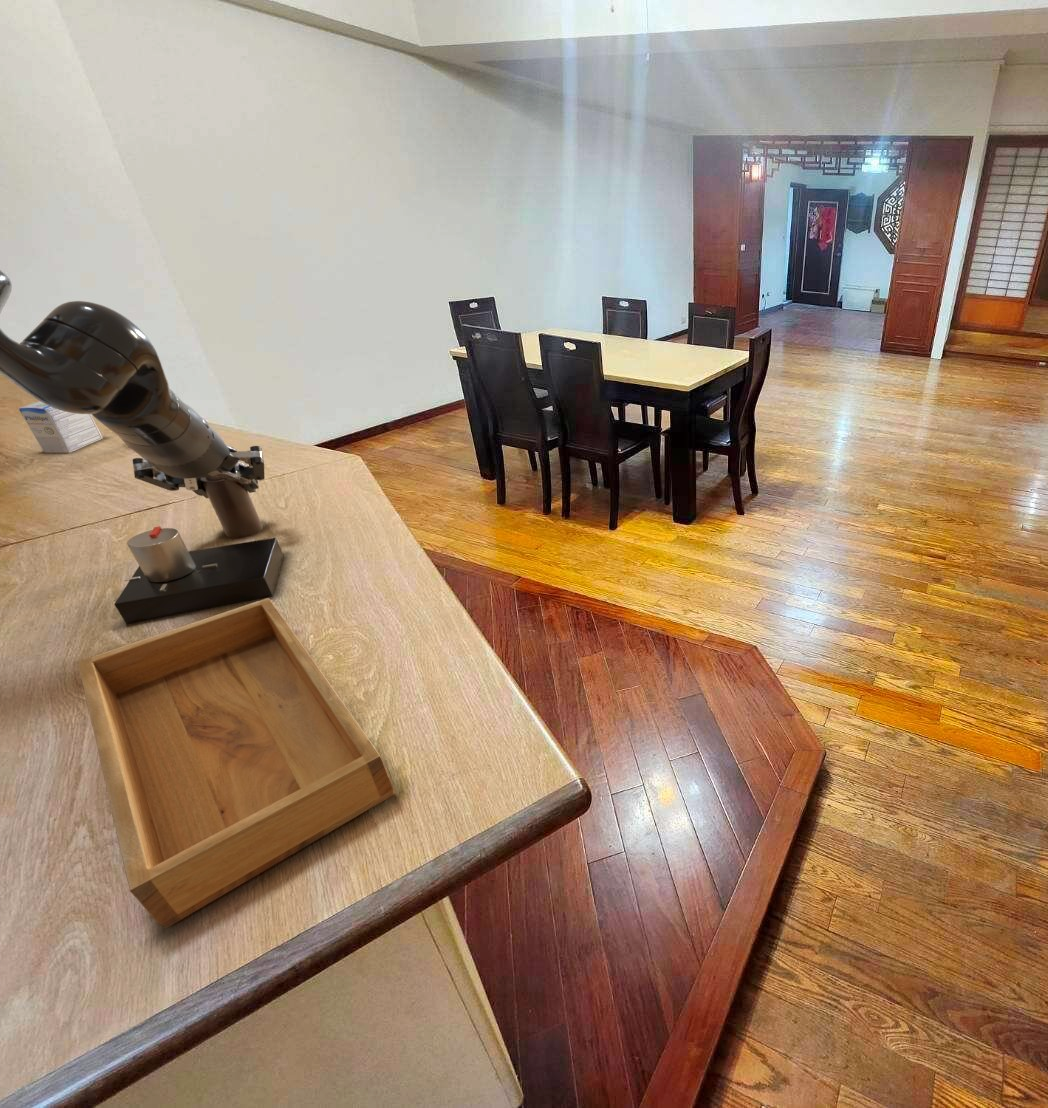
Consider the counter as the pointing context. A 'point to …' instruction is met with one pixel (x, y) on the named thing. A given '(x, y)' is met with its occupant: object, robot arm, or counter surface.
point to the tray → (222, 755)
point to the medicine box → (60, 428)
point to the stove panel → (206, 582)
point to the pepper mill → (232, 506)
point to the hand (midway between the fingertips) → (231, 489)
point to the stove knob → (161, 554)
